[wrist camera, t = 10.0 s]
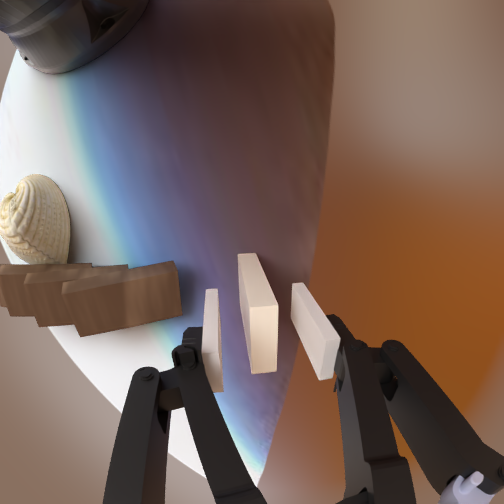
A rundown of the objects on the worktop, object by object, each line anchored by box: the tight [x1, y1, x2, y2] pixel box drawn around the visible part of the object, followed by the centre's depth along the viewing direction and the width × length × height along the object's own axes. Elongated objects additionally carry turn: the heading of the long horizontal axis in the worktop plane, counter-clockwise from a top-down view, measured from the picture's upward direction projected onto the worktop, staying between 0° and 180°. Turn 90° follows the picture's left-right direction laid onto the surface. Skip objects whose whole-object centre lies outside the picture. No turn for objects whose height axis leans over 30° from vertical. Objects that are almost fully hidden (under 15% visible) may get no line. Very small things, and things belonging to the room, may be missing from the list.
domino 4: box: [238, 253, 278, 374], centre depth 20 cm, size 2×5×10 cm, turn 2°
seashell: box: [0, 174, 70, 264], centre depth 19 cm, size 8×8×8 cm
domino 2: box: [24, 264, 128, 327], centre depth 20 cm, size 2×5×10 cm
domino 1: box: [0, 263, 92, 316], centre depth 20 cm, size 2×5×10 cm
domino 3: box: [61, 261, 182, 337], centre depth 21 cm, size 2×5×10 cm
